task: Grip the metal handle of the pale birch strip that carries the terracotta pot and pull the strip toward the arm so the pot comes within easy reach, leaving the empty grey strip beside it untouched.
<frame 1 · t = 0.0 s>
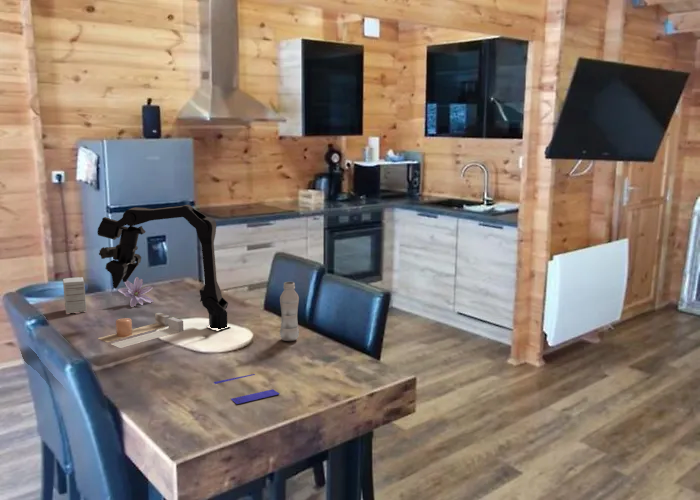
hand: (119, 285, 219), 15 cm above the table, tool pointing down, fingers open, 9 cm apart
terracotta pot: (124, 334, 211), point 1 cm above the table, touching birch strip
water lily: (137, 305, 251), on the table
plastic bottle: (289, 340, 211), on the table
supplement box: (75, 311, 240), on the table
birch strip: (134, 328, 213), point 2 cm above the table, slide at 0.0 cm, touching terracotta pot
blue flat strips: (240, 386, 175), on the table
grey strip: (147, 333, 208), point 2 cm above the table, slide at 0.0 cm
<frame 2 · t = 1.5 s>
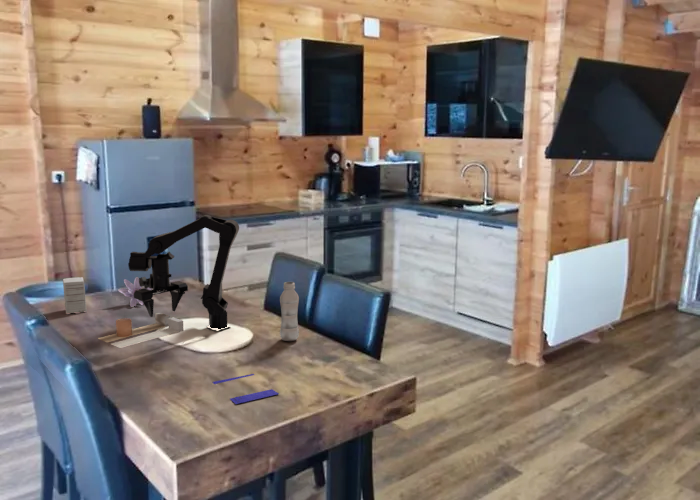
hand: (162, 313, 221), 5 cm above the table, tool pointing down, fingers open, 9 cm apart
nothing on the table moved.
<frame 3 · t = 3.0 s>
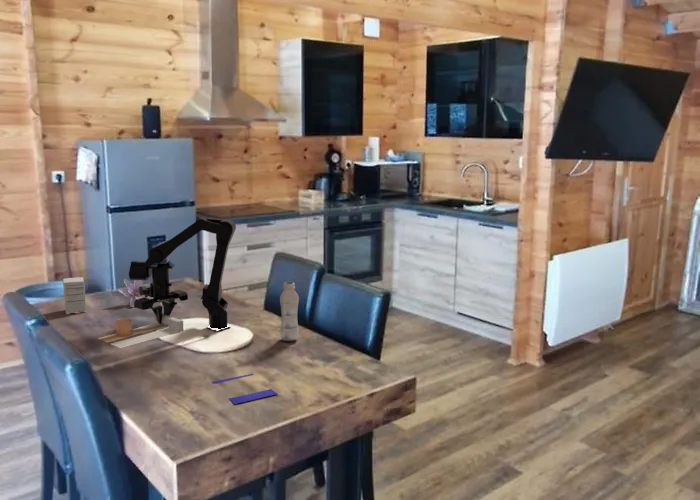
hand: (162, 322, 222), 2 cm above the table, tool pointing down, fingers closed on birch strip, 2 cm apart
birch strip: (134, 328, 213), point 2 cm above the table, slide at 0.0 cm, touching gripper, terracotta pot
everything else where it was.
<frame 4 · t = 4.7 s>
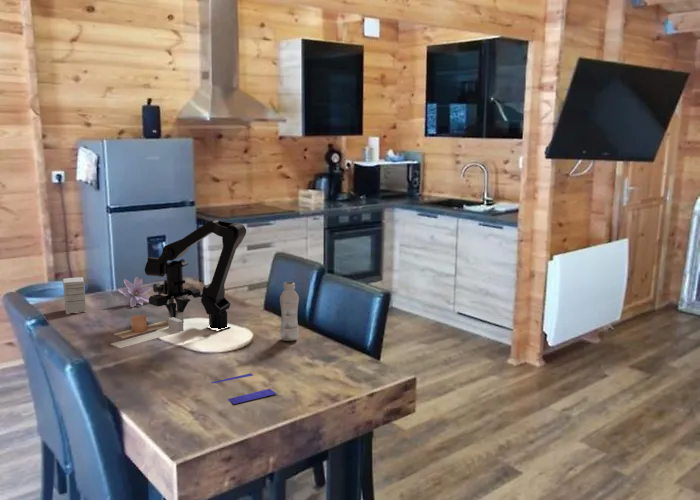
hand: (176, 319, 226), 2 cm above the table, tool pointing down, fingers closed on birch strip, 2 cm apart
terracotta pot: (139, 330, 215), point 1 cm above the table, touching birch strip
birch strip: (149, 324, 218), point 2 cm above the table, slide at 5.7 cm, touching gripper, terracotta pot
everything else where it was.
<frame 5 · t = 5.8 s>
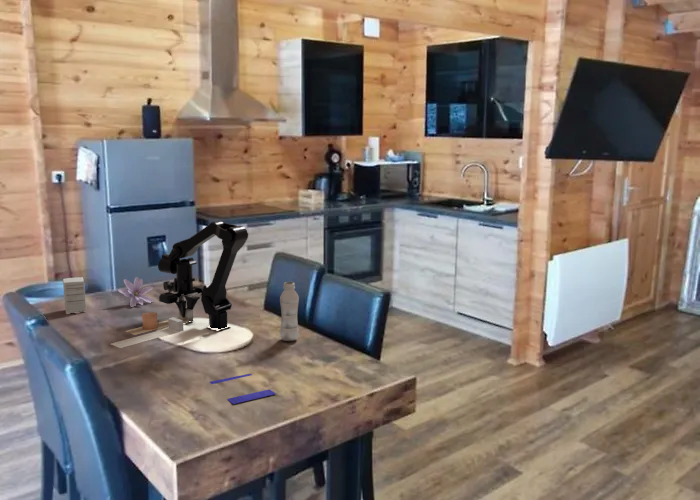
hand: (186, 316, 229), 2 cm above the table, tool pointing down, fingers closed on birch strip, 2 cm apart
terracotta pot: (150, 327, 218), point 1 cm above the table, touching birch strip
birch strip: (160, 321, 221), point 2 cm above the table, slide at 9.9 cm, touching gripper, terracotta pot
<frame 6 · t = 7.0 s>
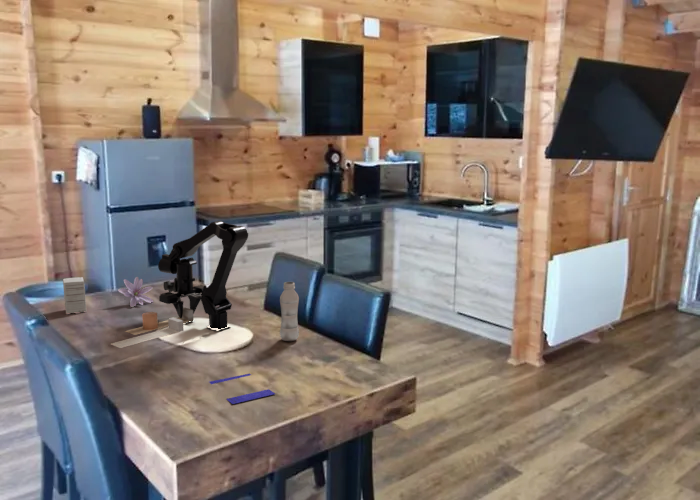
hand: (186, 316, 229), 2 cm above the table, tool pointing down, fingers open, 5 cm apart
birch strip: (160, 321, 221), point 2 cm above the table, slide at 10.0 cm, touching terracotta pot
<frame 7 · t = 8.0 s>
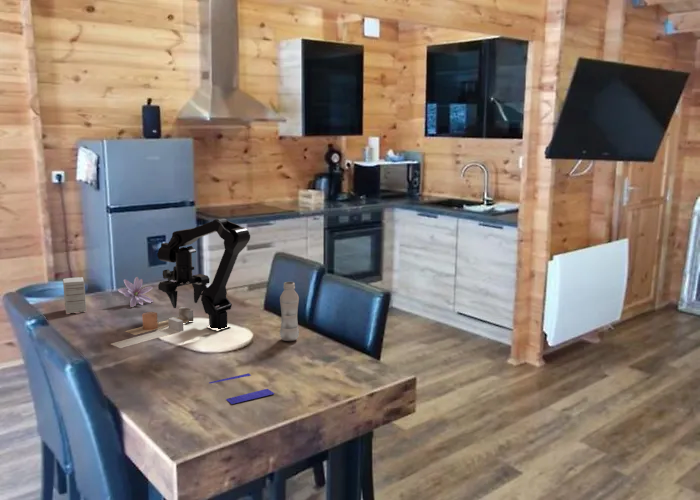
hand: (185, 305, 229), 6 cm above the table, tool pointing down, fingers open, 9 cm apart
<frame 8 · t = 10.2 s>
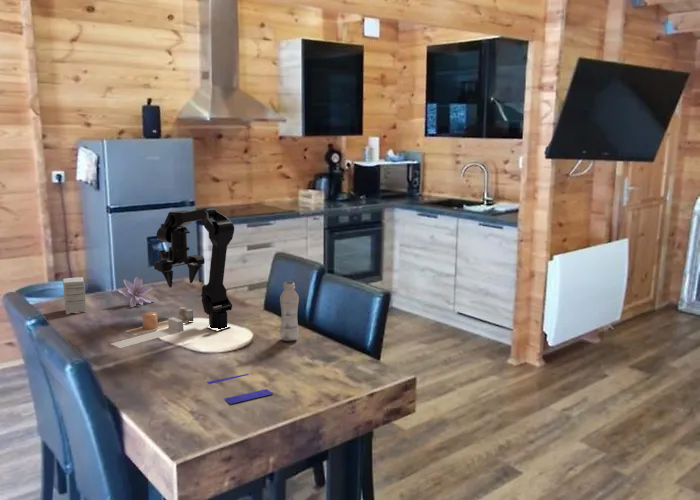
hand: (180, 285, 234), 12 cm above the table, tool pointing down, fingers open, 9 cm apart
at the end: birch strip slide at 10.0 cm; terracotta pot inside the target area (0.5 cm from its centre), point 1.2 cm above the table; grey strip slide at 0.0 cm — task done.
